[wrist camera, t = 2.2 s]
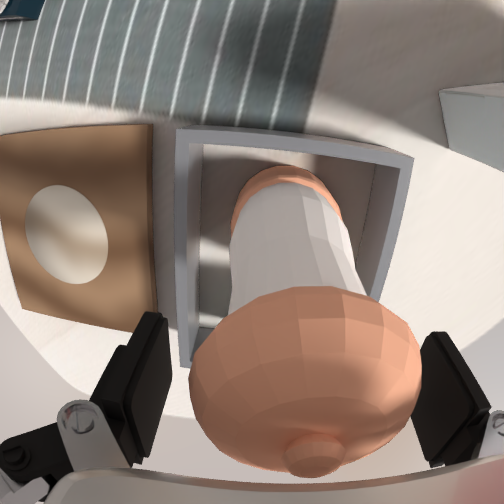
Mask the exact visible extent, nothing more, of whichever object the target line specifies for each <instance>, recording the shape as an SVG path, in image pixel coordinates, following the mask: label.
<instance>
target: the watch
mask: <svg viewBox="0 0 504 504" xmlns="http://www.w3.org/2000/svg"><path fill="white" fill-rule="evenodd" d="M44 2H45V0H0V21H10V20H38V17H39V15H40V12H41V9H42V7H43V4H44Z"/></svg>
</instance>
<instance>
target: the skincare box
mask: <svg viewBox="0 0 504 504" xmlns="http://www.w3.org/2000/svg"><path fill="white" fill-rule="evenodd" d="M439 97H440V102H441V107H442V112H443V118H444V123H445V129H446V134H447V138H448V143H449V148H450V150H452V151H454V152H457V153H460V154H462V155H465V156H467V157H470V158H472V159H475V160H477V161H479V162H482V163H484V164H486V165H489V166H491V167H493V168H496V169H498V170H500V171H502V172H504V82H501V83H490V84H481V85H472V86H464V87H456V88H448V89H442V90H439Z"/></svg>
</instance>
